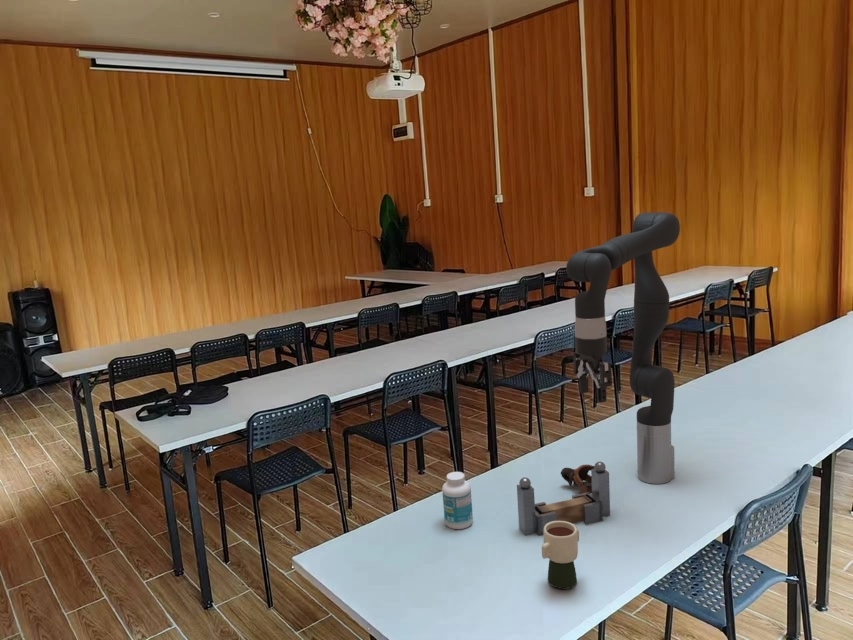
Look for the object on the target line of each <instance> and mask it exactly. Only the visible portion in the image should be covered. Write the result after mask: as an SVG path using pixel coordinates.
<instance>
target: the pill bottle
mask: <svg viewBox="0 0 853 640" xmlns="http://www.w3.org/2000/svg"><path fill="white" fill-rule="evenodd" d="M465 477H466V476H465V473H464V472H462V471H452V472H449V473H447V474H446V482H444V483H443V484H442V488H441V490H442V502H443V503H442V504H443V505H442V506H443V513H444V514H443V518H444V523H445V525H446V527H448V528H450V529H452V530H464V529H466V528H468V527H470V526H472V524H473V520H474V519H473V518H474V516H473V504H472V503H473V502H472V500H473V499H472V487H471V485H470V483H469V482H468V481H467V480H466V478H465Z"/></svg>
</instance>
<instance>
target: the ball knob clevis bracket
mask: <svg viewBox="0 0 853 640" xmlns="http://www.w3.org/2000/svg"><path fill="white" fill-rule="evenodd" d="M593 466H594V469H591V470H590V471H591V473H590V474H591V475H590V476H592V483H591V484H592V493H590V492H586V493H582V494H579V493H576V494H574V495H571V499H574V498H579V497H583V496H584V495H586V496H587V497H588V498H589V499H591V500H592V503H589V504H585V505H583V520H584V521H583V524H584V525H585V526H587V525H589V524H595V523H599V522H603V521H604V518H605V517H610V516H611V499H610V498H611V497H610V496H611V495H610V494H611V493H610V489H611V488H610V472H609V471H608V470H606V469H607V468H606V466H607V465H606V463H604V462H603V461H596V462H595V463H594V465H593ZM531 484H532V481H531V480H530V478H528V477H524V476H523V477H522V478H521V479H519V484H517V485H516V493H517V494H516V495H517V496H516V497H517V498H516V499H517V512H518V514H517V515H518V529H519V530H520V532H521V533H522V534H523V535H524V536H526V537H527V536H529V535H535V534H536V535H537V536H538V537H539V536H544V526H545V525H546V524H547V523H549V522H552V521H557V518H556V512H550V513H545V514H541V515H540V514H539V513H538V512H537V511H536V506H543V505H547V503H546V502H545V501H542V502H538V503H535V502H536V501H535V499H536V498H535V488H534V487H533V486H532V485H531Z"/></svg>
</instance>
